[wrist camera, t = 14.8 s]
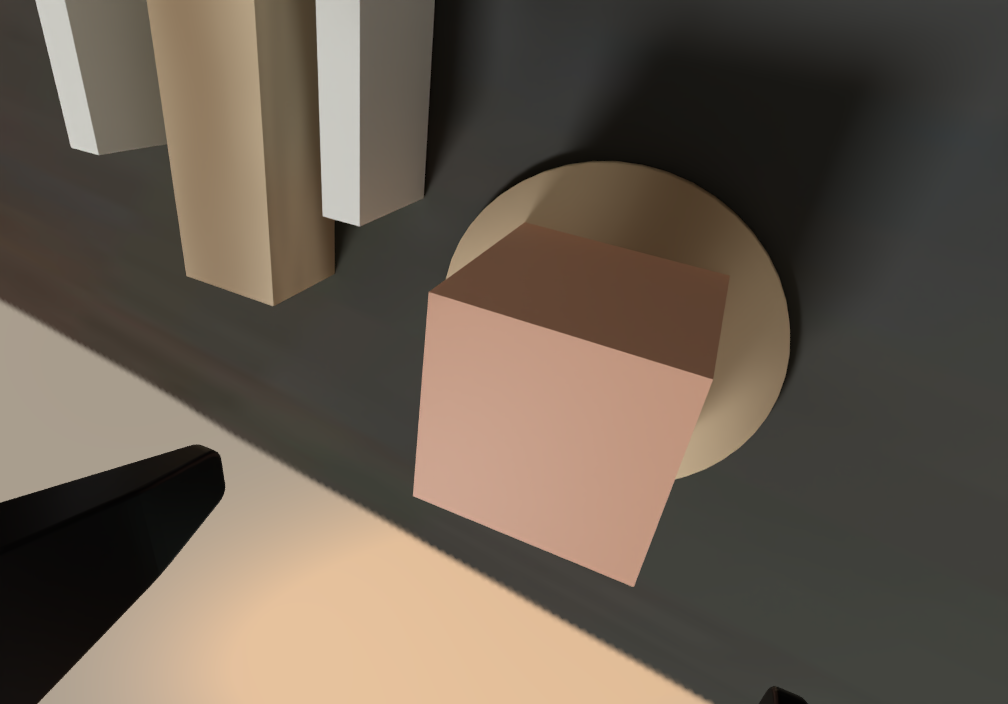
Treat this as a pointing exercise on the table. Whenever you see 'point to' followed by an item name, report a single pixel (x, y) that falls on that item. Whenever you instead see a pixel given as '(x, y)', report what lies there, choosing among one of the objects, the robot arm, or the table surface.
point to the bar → (245, 142)
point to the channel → (341, 83)
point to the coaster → (677, 237)
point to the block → (565, 392)
